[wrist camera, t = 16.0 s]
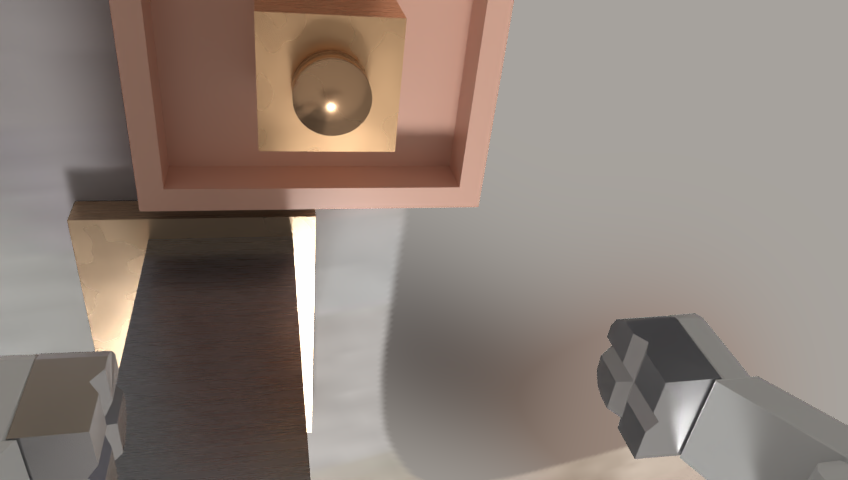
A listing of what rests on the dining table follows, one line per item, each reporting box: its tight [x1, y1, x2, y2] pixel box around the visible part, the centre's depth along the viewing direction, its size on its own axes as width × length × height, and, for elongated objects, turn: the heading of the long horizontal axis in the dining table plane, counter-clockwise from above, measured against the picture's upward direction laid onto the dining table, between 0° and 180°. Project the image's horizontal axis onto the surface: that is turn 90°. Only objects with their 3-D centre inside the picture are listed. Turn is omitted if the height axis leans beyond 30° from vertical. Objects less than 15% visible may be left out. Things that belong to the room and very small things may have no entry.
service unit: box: [67, 201, 316, 480], centre depth 28 cm, size 14×10×16 cm
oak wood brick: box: [254, 0, 407, 152], centre depth 24 cm, size 4×4×7 cm
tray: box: [109, 0, 514, 212], centre depth 26 cm, size 14×14×2 cm
